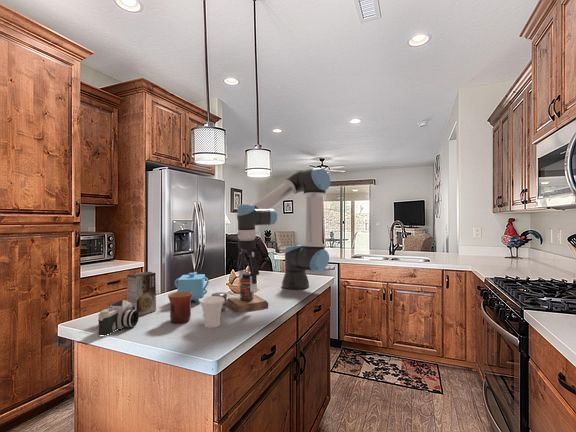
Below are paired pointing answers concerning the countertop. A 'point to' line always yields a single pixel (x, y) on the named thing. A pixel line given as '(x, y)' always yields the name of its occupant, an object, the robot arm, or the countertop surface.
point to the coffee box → (142, 292)
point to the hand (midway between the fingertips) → (247, 287)
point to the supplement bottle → (245, 288)
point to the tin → (224, 295)
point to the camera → (117, 317)
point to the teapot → (193, 285)
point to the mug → (180, 306)
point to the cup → (211, 310)
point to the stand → (246, 304)
